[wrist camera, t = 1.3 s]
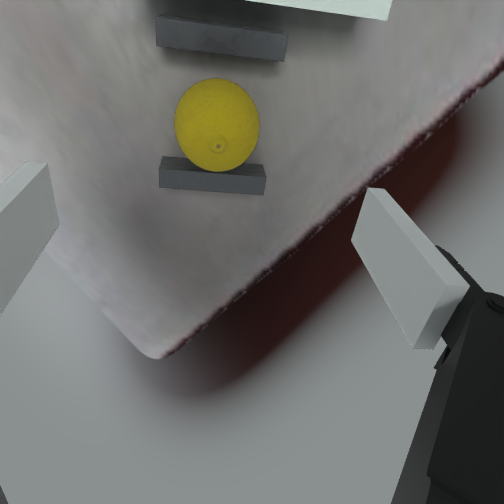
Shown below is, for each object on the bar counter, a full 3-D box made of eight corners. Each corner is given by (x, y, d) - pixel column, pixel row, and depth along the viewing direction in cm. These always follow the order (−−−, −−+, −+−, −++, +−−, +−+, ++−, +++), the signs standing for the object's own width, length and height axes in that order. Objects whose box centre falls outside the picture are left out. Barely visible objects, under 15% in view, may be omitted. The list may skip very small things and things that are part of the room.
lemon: (207, 158, 30) (206, 206, 23) (163, 96, 27) (147, 131, 20) (267, 120, 29) (283, 160, 22) (227, 51, 26) (232, 73, 19)
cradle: (282, 31, 25) (287, 35, 23) (260, 181, 31) (263, 195, 29) (160, 14, 24) (155, 17, 22) (163, 174, 30) (159, 187, 28)
